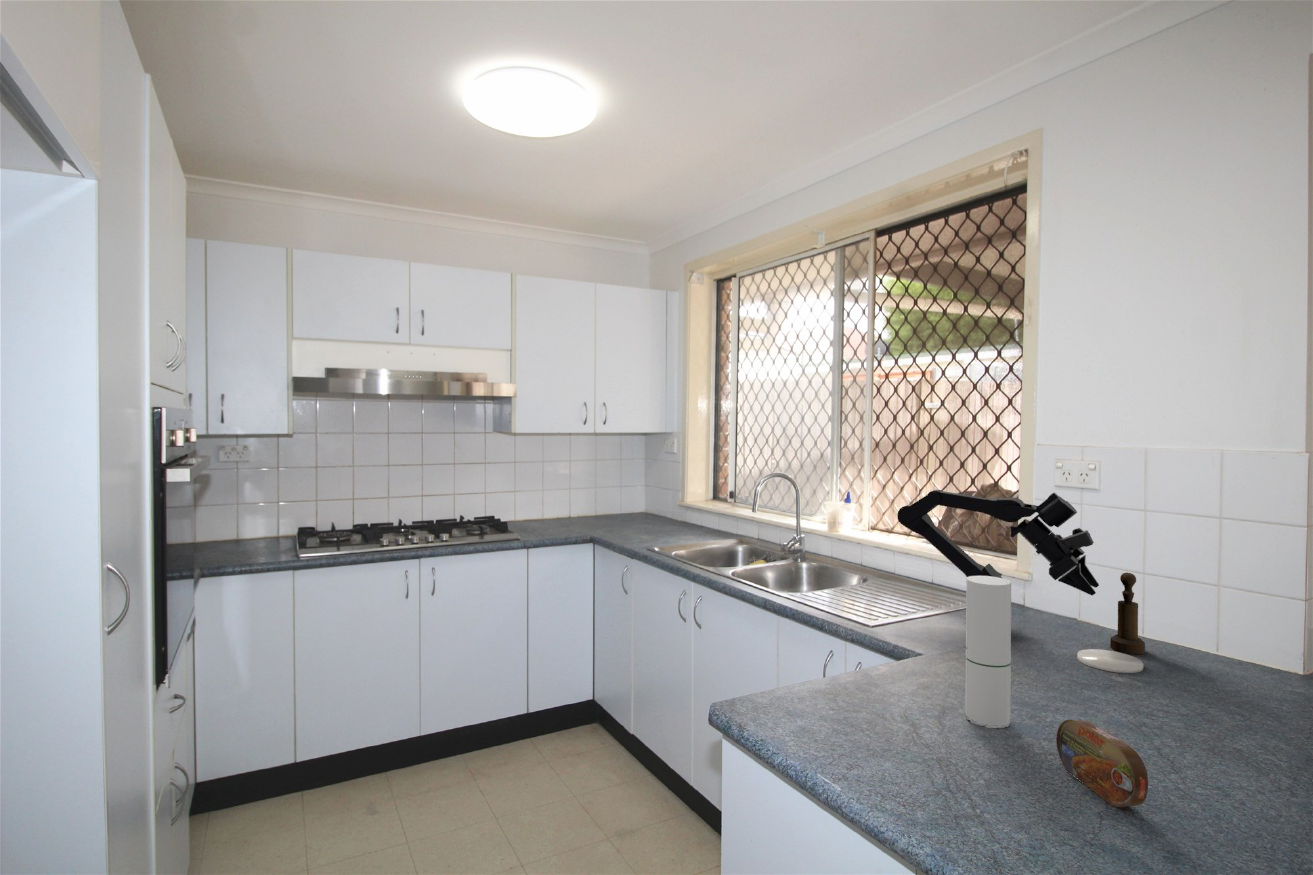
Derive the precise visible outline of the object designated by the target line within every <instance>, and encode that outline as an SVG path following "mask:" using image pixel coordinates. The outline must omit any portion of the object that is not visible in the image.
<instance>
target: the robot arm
mask: <svg viewBox="0 0 1313 875" xmlns="http://www.w3.org/2000/svg"><path fill="white" fill-rule="evenodd" d="M938 506H942V507H947V508H952V509H959V510H963V511H970V512H974V513H975V512H977V513H982V514H984V515H988V516H990V517H992V518H995V519H998V520H1000V521H1003V522H1006V523H1016V522H1018V521H1020V520H1021V519H1022V518H1024V519H1023V520H1021V522H1019V523H1018V524H1017V525H1011V526H1010V527H1009V528H1010V537H1011V538H1014V537H1016V536H1017V535H1019V534H1020V536H1022V537H1023V538H1024V540H1026V541H1027V542H1028V543H1029V544H1030V545H1031V546H1032V547H1033V548H1034V549H1035V553H1037V555H1041V556H1042V557H1043V558H1045V560H1046V561H1047V562H1048V563H1049V566H1050V567H1049V568H1048V575H1049V576H1050V577H1051V578H1052V579H1053V580H1054V581H1056V580H1057V582H1059V583H1060V582H1061V583H1063V584H1065V585H1067V586H1070V587H1072V588H1074V589H1076V590H1079V591H1081V592H1083V593H1085V594H1087V595H1089V596H1094V595H1095V594H1096V593H1097V592H1096V591H1095V589H1096V588H1099V586H1100V584H1099V582H1098V580H1097V579H1096V578H1095V577H1094V575H1093V574H1092V572H1091V571H1090V569H1089V567H1088V565H1087V564H1086V559H1087V558H1086V557H1087V556H1086V554H1085V553H1086V552H1085V551H1084V550H1083V549H1082V548H1084V547H1085V548H1087V547H1090V546H1092V545H1094V540H1093V539H1092V537H1091V533H1089V530H1083V529H1081V528H1080V527H1078V528H1074V529H1073V530H1072V533H1071V535H1068V536H1066V537H1065V536H1064V537H1063V536H1062V535H1061V534H1057V533H1054V532H1053V531H1052V530H1051V529H1050V528H1053V527H1056V528H1059V527H1062V525H1063V524H1065V523H1066V522H1067V521H1069V520H1070V519H1071V518H1073V517H1074V516H1075V515H1076V514H1078V511H1077V510H1076V509H1075V507H1074V506H1073V505H1072V504H1071V503H1070V502H1069V501H1067V500H1065V499H1064V498H1062V497H1061V496H1060V495H1058V494H1057V493H1056V492H1052V493H1051V494H1050V495H1049V496H1048V497H1047V498H1046V499H1045V500H1044V501H1042V503H1040V504H1039V505H1035V504H1030V503H1025V502H1024V501H1023V500H1022V499H1020V498H1018V497H990V498H988V497H981V496H975V495H969V494H963V493H959V492H958V493H957V492H950V491H945V490H941V489H934V490H931V491H929V492H928V493H927V494H926V495H925V496H923V497H921V498H920V499H918V500H916V501H915V502H914V503H910V504H907V505H905V506H902V507H901V508H899V509H898V511H897V521H898V522H899V524H901V525H902V526H903V527H905V528H906V529H908V530H909V531H911V532H913V533H915V534H917V535H919V536H921V537H923V538H925V540H926V541H927V542H929V543H930V544H931V545H932V546H933V547H934V548H935V549H936V550H937V551H938V552H940V554H942V555H943V556H944V557H945V558H946V559H947V560H949V562H950V563H951V564H953V565H954V566H955V567H956V568H957V569H958V570H960V572H962V573H963V574H964V576H965V577H966V578H967V577H970V576H992V577H999V578H1003V574H1002V573H1000V572H999V571H997V570H996V569H995V568H994V566H992V564H990V563H988V564H986V565H985V566H984V565H981V563H978V562H977V561H976V560H974V559H973V558H972V557H971V556H970V555H969V554H968V553H967V552H965V551H964V550H963V549H962V548H961V547H960V546H959V545H957V544H956V543H955V542H954V541H953V540H952V539H951V538H949V536H947V534H945V533H944V532H943V531H942V530H940V529H939V528H938V527H937V526H936V525H935V523H934V521H933V520H932V518H931V516H930V515H929V514H928V513H930V512H931V511H933V510H934V509H935V508H937V507H938ZM1036 513H1037V514H1036ZM1034 514H1036V516H1034V517H1033V518H1032V519H1031V520H1029V519H1026V518H1029V517H1032V516H1033V515H1034ZM1049 527H1050V528H1049ZM1080 556H1081V557H1080ZM1094 588H1095V589H1094Z"/></svg>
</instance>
